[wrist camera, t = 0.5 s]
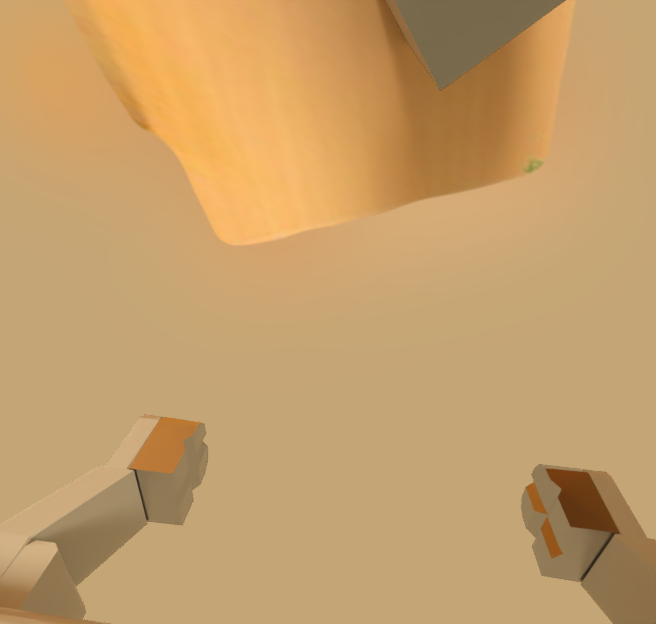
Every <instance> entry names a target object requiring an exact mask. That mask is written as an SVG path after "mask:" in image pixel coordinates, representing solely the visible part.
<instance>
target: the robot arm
mask: <svg viewBox="0 0 656 624" xmlns="http://www.w3.org/2000/svg"><path fill="white" fill-rule="evenodd" d="M205 434H206V431H205V425H204V424H203V423H200V422H194V421H188V420H181V419H174V418H168V417H158V416H152V415H143V416H142V417H140V418H139V419H138V420H137V422H136V423H135V425H134V426H133V428H132V429H131V430H130V432H129V433H128V435H127V436H126V437H125V439H124V440H123V442H122V443H121V444H120V446H119V447H118V449H117V450H116V452H115V453H114V454H113V456H112V457H111V459H110V460H109V462H108V463H107V465H106V466H98V467H96V468H94V469H93V470H91V471H89V472H87V473H86V474H84V475H83V476H81V477H79V478H77V479H76V480H74V481H72V482H70V483H69V484H67V485H65V486H64V487H62V488H60V489H59V490H57V491H55V492H53V493H52V494H50V495H48V496H47V497H45V498H43V499H42V500H40V501H38V502H36V503H35V504H33V505H31V506H30V507H28V508H26V509H25V510H23V511H21V512H20V513H18V514H16V515H14V516H13V517H11V518H9V519H8V520H6V521H4V522H2V523H1V524H0V624H109V623H102V622H96V621H89V620H83V617H84V615H85V613H86V610H85V605H84V603H83V601H82V599H81V597H80V595H79V592H78V590H77V588H76V586H77V585H78V584H80V583H81V582H82V581H83V580H84V579H85V578H86V577H88V576H89V575H90V574H91V573H92V572H93V571H94V570H95V569H97V568H98V567H99V566H100V565H101V564H102V563H103V562H105V561H106V560H107V559H108V558H109V557H110V556H111V555H112V554H114V553H115V552H116V551H117V550H118V549H119V548H120V547H122V546H123V545H124V544H125V543H126V542H127V541H128V540H129V539H131V538H132V537H133V536H134V535H135V534H136V533H137V532H138V531H139V530H141V529H142V528H143V527H144V526H145V525H146V524H147V521H148V522H157V523H166V524H175V525H183V523H184V521H185V518H186V516H187V514H188V512H189V509H190V507H191V505H192V502H193V494H192V490H193V489H194V488H196V487H197V486H199V485H200V484H201V482H202V479H203V476H204V474H205V471H206V466H207V462H208V446H207V445H206V444H205V443H204V442H203V439H204V437H205ZM532 477H533V479H534V482H533V483H532V484H530V485H528V486H527V487H526V488H525V490H524V493H523V495H522V506H521V508H522V516H523V519H524V523H525V526H526V528H527V529H528V530H529V531H530V532H531V533H532V534H533V536H535V538H536V539H535V541H534V543H533V545H532V548H533V551H534V554H535V557H536V560H537V563H538V566H539V569H540V572H541V575H542V576H547V577H553V578H559V579H565V580H571V581H577V582H582V583H581V585H582V587H583V588H584V589H585V590H586V591H587V593H588V594H589V595H590V596H591V597H592V599H593V600H594V601H595V602H596V603H597V605H598V606H599V607H600V608H601V610H602V611H603V612H604V613H605V614H606V616H607V617H608V618H609V619H610V620H611V622H612V623H613V624H656V540H655V539H649V538H647V537H646V535H645V533H644V531H643V530H642V528H641V526H640V524H639V523H638V521H637V519H636V518H635V516H634V514H633V513H632V511H631V509H630V507H629V506H628V504H627V502H626V501H625V499H624V497H623V496H622V494H621V492H620V490H619V489H618V487H617V485H616V484H615V482H614V480H613V479H612V477H611V476H610V475H609V474H608V473H607V472H602V471H593V470H581V469H577V468H568V467H560V466H551V465H542V464H539V465H538V466H536V467H535V468H534V470H533V473H532Z"/></svg>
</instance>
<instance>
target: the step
mask: <svg viewBox="0 0 656 624" xmlns="http://www.w3.org/2000/svg"><path fill="white" fill-rule="evenodd" d="M385 1H386V3H387V5H388V7H389V8H390V10H391V12H392V14H393V16H394V18H395V20H396V22H397V24H398V26H399V27H400V29H401V31H402V33H403V35H404V37H405V39H406V41H407V43H408V44H409V46H410V47H411V49H412V50H413V52H414V53H415V54H416V56H417V57H418V59H419V60H420V62H421V63H422V65H423V66H424V68H425V69H426V70H427V72H428V73H429V75H430V76H431V78H432V79H433V81H434V82H435V83H436V85H437V86H438V88H439V89H440V91H441V90H442V89H444V88H445V87H447V86H448V85H449V84H451V83H452V82H454V81H455V80H456V79H458V78H459V77H460V76H462V75H463V74H465V73H466V72H467V71H469V70H470V69H471V68H473V67H474V66H476V65H477V64H478V63H480V62H481V61H483V60H484V59H485V58H487V57H488V56H489V55H491V54H492V53H494V52H495V51H496V50H498V49H499V48H500V47H502V46H503V45H505V44H506V43H507V42H509V41H510V40H512V39H513V38H514V37H516V36H517V35H518V34H520V33H521V32H523V31H524V30H525V29H527V28H528V27H529V26H531V25H532V24H534V23H535V22H536V21H538V20H539V19H540V18H542V17H543V16H545V15H546V14H547V13H549V12H550V11H552V10H553V9H554V8H556V7H557V6H558V5H560V4H561V3H563V2H564V1H565V0H385Z"/></svg>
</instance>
